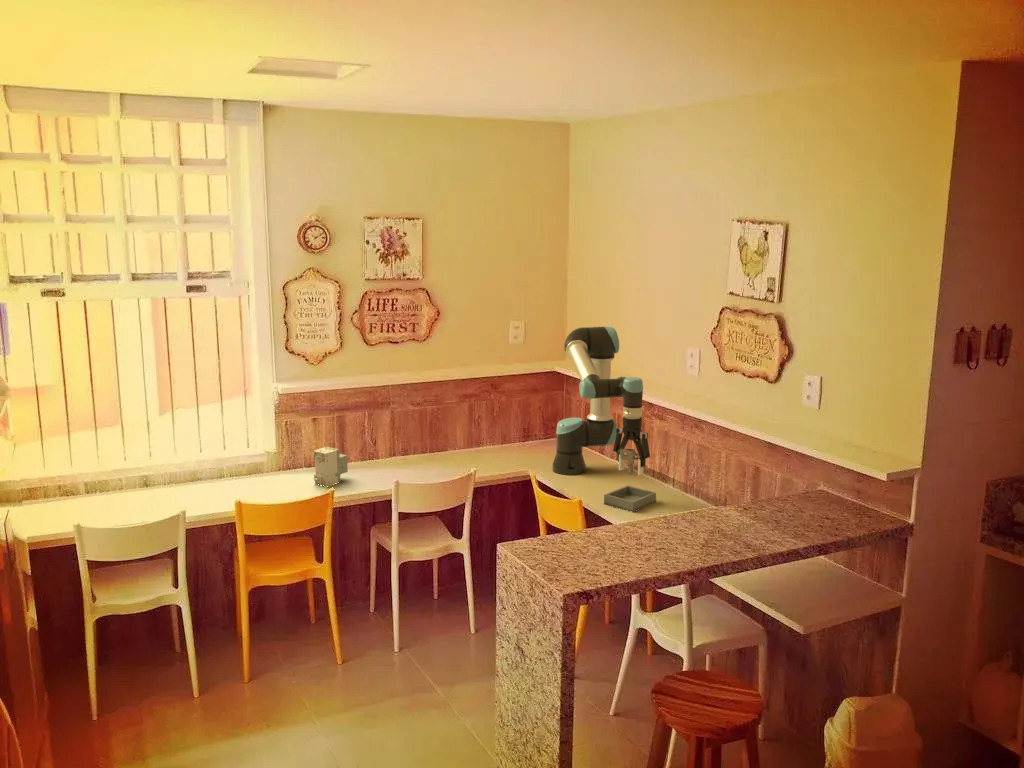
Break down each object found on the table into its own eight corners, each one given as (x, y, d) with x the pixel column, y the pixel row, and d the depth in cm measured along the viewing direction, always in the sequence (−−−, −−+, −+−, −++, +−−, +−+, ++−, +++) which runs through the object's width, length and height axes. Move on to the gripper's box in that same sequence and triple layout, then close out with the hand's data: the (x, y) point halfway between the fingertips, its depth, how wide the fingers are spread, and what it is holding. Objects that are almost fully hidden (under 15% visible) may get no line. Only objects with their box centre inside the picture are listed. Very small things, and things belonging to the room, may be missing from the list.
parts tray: (627, 494, 368) (627, 485, 367) (655, 502, 358) (656, 492, 358) (604, 504, 356) (604, 494, 355) (632, 512, 347) (633, 502, 346)
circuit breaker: (350, 479, 388) (349, 446, 385) (326, 487, 377) (325, 453, 374) (338, 476, 393) (337, 443, 390) (314, 484, 381) (312, 450, 378)
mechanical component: (643, 475, 352) (643, 451, 350) (617, 474, 354) (617, 450, 352) (643, 473, 355) (644, 449, 353) (618, 472, 357) (618, 448, 355)
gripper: (604, 414, 354) (603, 468, 359) (649, 423, 340) (648, 479, 345) (615, 411, 360) (614, 464, 364) (660, 419, 346) (658, 475, 350)
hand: (630, 471), depth 354 cm, fingers closed on mechanical component, 9 cm apart
